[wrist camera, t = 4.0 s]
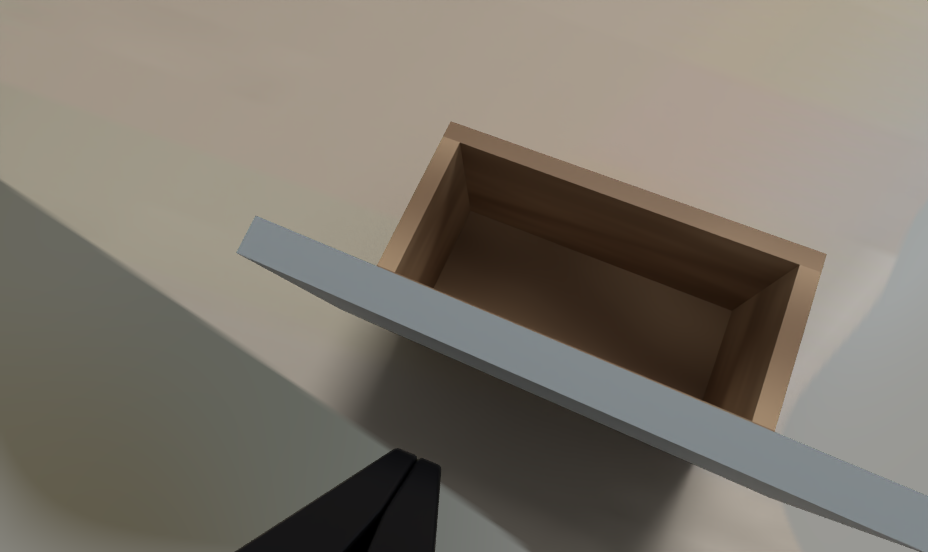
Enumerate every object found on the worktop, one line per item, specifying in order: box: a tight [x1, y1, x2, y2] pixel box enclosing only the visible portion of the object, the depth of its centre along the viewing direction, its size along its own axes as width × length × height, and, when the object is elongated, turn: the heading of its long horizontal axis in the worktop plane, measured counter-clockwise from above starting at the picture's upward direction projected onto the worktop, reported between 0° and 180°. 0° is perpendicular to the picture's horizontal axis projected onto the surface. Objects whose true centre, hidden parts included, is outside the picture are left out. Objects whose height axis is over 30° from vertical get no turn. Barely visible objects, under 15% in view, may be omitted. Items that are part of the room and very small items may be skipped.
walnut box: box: [377, 122, 827, 432], centre depth 20 cm, size 6×12×6 cm, turn 66°
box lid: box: [236, 216, 928, 552], centre depth 13 cm, size 6×13×1 cm
